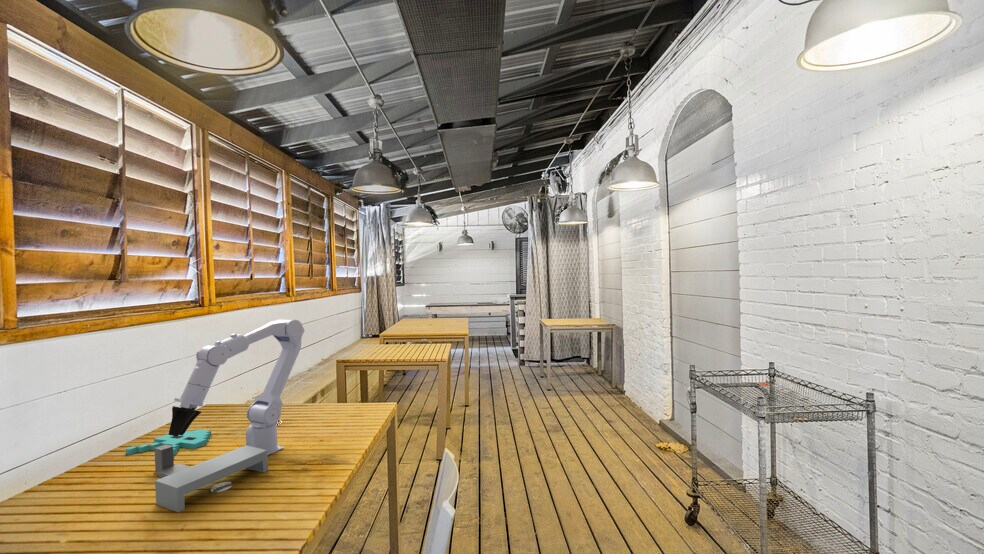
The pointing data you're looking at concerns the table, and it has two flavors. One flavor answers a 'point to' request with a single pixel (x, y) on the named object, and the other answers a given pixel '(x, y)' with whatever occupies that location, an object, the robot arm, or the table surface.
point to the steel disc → (221, 487)
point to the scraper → (166, 461)
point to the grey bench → (207, 475)
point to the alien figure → (175, 441)
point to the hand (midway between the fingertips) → (175, 435)
